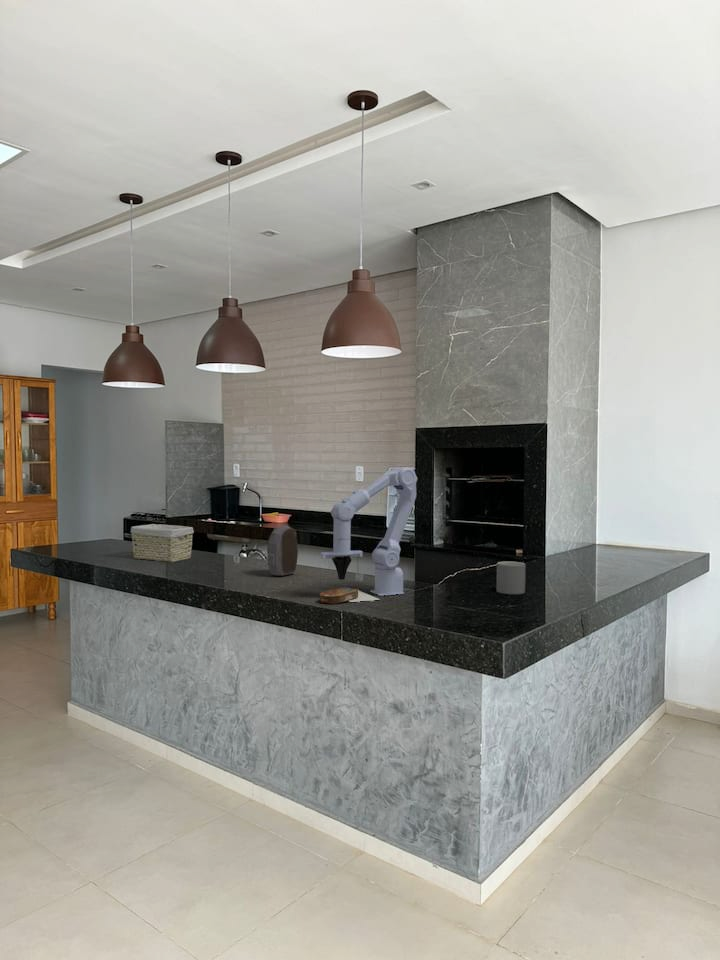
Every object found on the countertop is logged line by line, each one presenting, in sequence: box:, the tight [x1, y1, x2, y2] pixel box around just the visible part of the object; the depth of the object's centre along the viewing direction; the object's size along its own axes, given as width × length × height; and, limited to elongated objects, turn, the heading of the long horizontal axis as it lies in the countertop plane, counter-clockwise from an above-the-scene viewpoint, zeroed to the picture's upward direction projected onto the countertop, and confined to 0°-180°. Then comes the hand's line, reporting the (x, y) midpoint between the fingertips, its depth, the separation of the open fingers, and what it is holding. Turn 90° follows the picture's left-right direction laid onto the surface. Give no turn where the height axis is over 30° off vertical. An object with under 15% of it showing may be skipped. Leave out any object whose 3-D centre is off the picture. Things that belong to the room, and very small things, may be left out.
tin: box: [319, 586, 359, 605], centre depth 231 cm, size 15×3×8 cm
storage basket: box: [130, 523, 195, 563], centre depth 318 cm, size 24×16×15 cm
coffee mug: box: [495, 560, 526, 595], centre depth 252 cm, size 13×10×10 cm
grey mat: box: [348, 589, 381, 603], centre depth 238 cm, size 10×20×1 cm, turn 25°
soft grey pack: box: [266, 524, 299, 577], centre depth 279 cm, size 15×8×20 cm, turn 150°
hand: (341, 579), depth 236 cm, fingers closed
